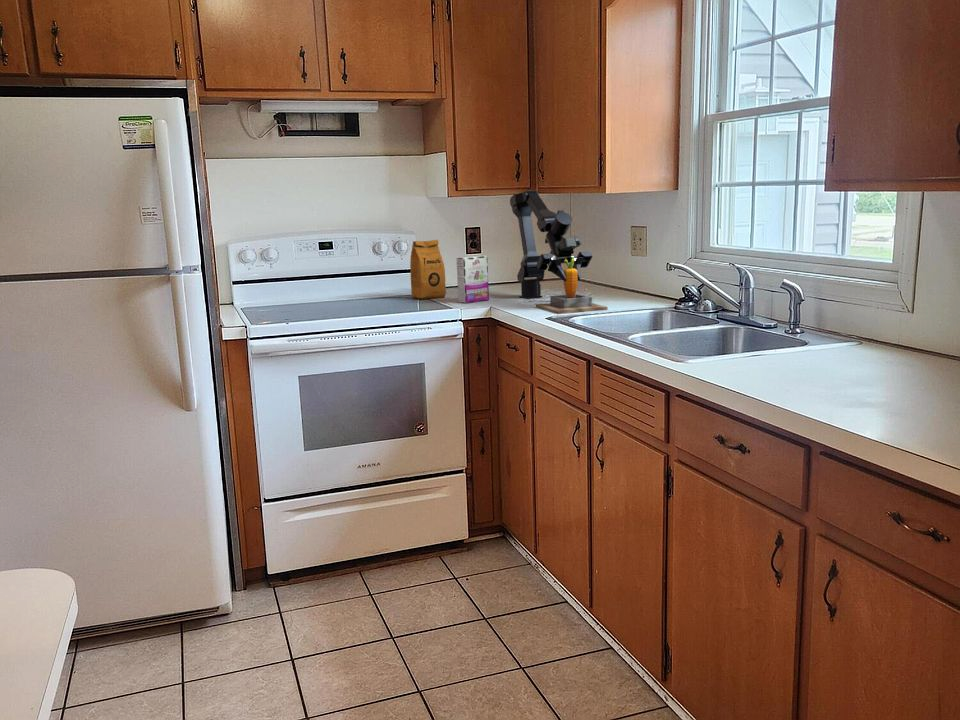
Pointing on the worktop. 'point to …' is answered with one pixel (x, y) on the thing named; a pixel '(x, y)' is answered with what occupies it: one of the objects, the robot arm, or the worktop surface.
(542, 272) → the robot arm
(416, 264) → the coffee package
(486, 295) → the candy bar box
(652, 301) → the worktop surface
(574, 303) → the socket base
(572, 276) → the carrot
